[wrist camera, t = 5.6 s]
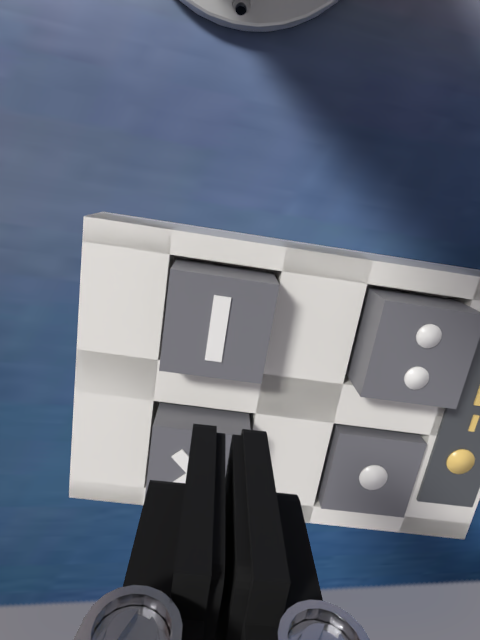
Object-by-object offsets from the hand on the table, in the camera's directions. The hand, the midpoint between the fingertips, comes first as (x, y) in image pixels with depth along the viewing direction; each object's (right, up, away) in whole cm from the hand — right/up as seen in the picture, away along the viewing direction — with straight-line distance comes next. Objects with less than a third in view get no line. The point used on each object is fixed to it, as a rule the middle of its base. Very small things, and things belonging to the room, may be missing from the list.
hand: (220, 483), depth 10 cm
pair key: (+9, +3, +14) cm, 17 cm away
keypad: (+4, 0, +18) cm, 18 cm away
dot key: (+8, -4, +18) cm, 20 cm away
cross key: (-2, -3, +16) cm, 16 cm away
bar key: (-1, +4, +14) cm, 14 cm away
